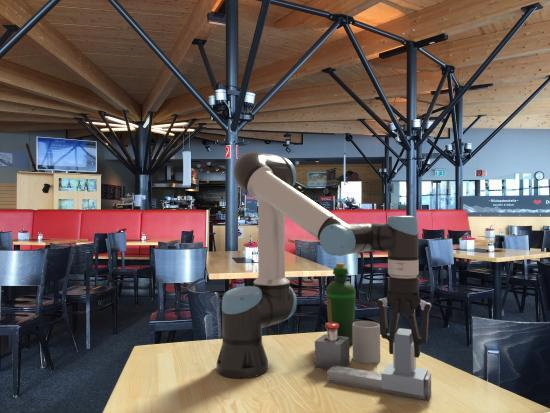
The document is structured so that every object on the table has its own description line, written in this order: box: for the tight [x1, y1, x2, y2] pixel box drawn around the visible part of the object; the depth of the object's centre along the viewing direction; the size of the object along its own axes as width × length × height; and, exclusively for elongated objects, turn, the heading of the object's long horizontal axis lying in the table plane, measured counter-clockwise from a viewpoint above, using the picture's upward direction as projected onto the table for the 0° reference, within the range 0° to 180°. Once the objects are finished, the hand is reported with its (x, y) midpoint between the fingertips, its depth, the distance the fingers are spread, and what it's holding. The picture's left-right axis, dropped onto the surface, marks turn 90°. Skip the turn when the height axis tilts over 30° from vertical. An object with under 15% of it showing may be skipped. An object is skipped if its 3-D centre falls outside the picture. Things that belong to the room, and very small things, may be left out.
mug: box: [352, 320, 381, 365], centre depth 136 cm, size 12×8×11 cm
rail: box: [326, 365, 432, 401], centre depth 112 cm, size 26×5×5 cm, turn 63°
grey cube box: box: [314, 333, 351, 371], centre depth 129 cm, size 8×8×8 cm
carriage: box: [380, 327, 429, 396], centre depth 109 cm, size 10×8×14 cm
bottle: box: [325, 262, 357, 346], centre depth 151 cm, size 11×11×28 cm
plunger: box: [324, 322, 339, 342], centre depth 129 cm, size 4×4×9 cm
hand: (404, 368), depth 109 cm, fingers closed on carriage, 4 cm apart
